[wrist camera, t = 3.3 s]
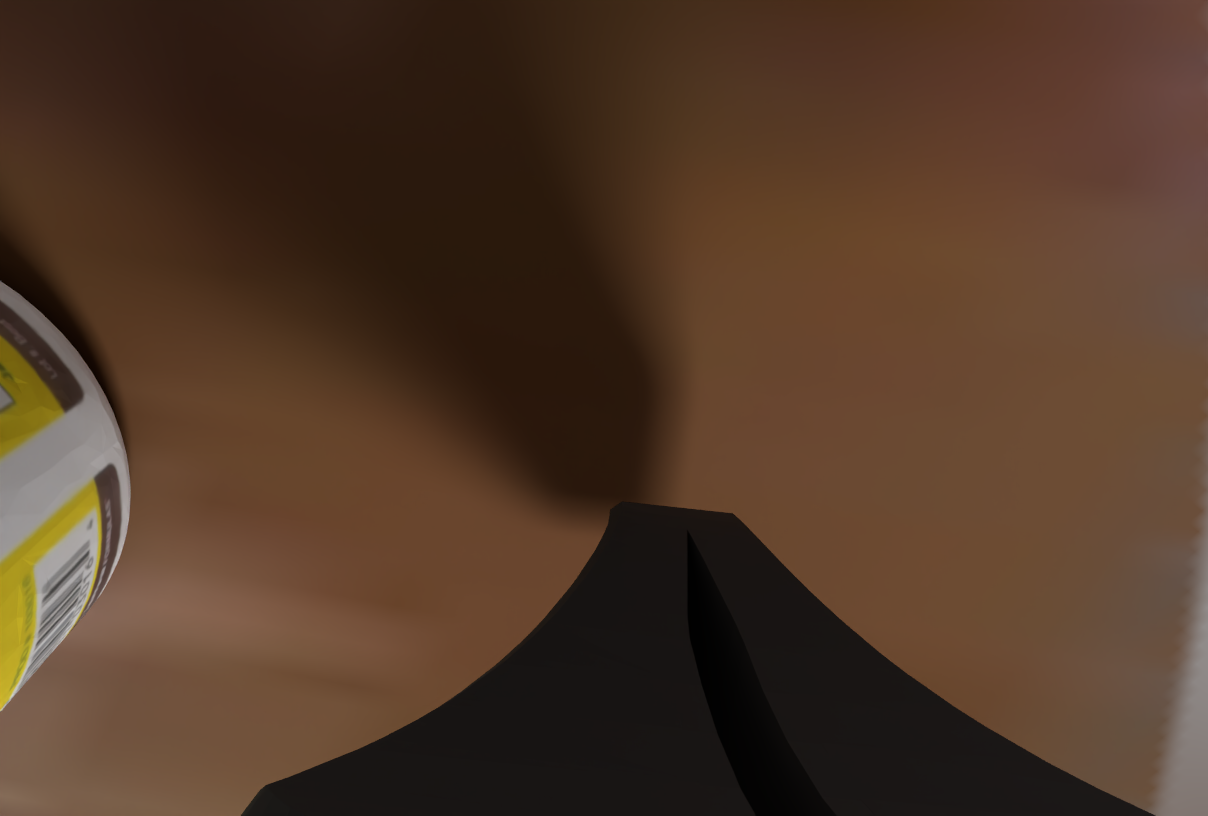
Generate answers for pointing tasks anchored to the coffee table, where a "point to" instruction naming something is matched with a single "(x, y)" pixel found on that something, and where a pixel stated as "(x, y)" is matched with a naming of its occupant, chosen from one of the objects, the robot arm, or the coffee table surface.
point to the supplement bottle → (52, 490)
